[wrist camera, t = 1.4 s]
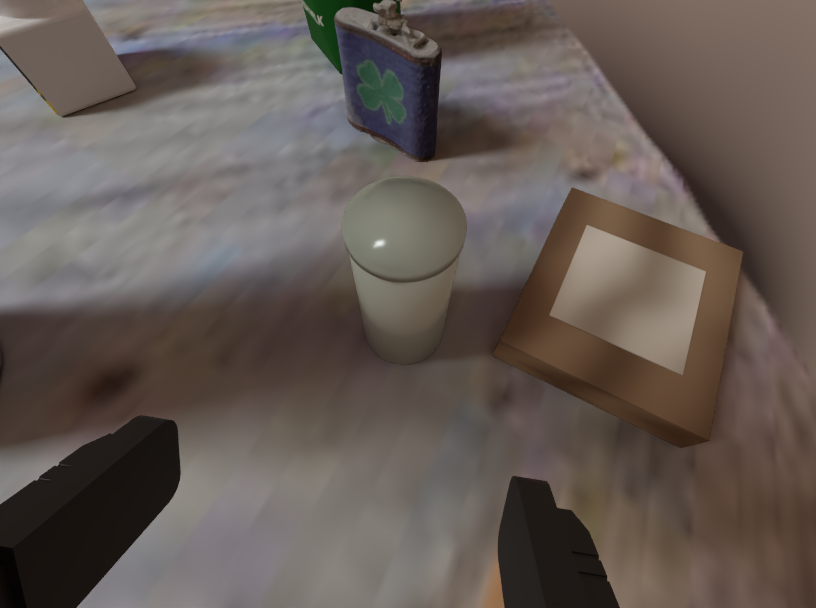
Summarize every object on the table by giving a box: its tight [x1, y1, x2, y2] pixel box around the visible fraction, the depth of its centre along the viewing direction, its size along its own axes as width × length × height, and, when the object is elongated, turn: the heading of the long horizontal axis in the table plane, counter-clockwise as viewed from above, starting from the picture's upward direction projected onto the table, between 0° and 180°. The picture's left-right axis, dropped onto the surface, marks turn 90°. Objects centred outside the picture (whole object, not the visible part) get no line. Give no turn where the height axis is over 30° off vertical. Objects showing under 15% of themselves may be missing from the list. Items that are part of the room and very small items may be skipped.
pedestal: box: [492, 188, 743, 448], centre depth 27 cm, size 12×14×3 cm
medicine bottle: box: [0, 0, 136, 116], centre depth 34 cm, size 7×7×12 cm
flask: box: [334, 0, 442, 162], centre depth 31 cm, size 9×3×11 cm, turn 53°
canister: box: [342, 176, 467, 365], centre depth 22 cm, size 5×5×11 cm
